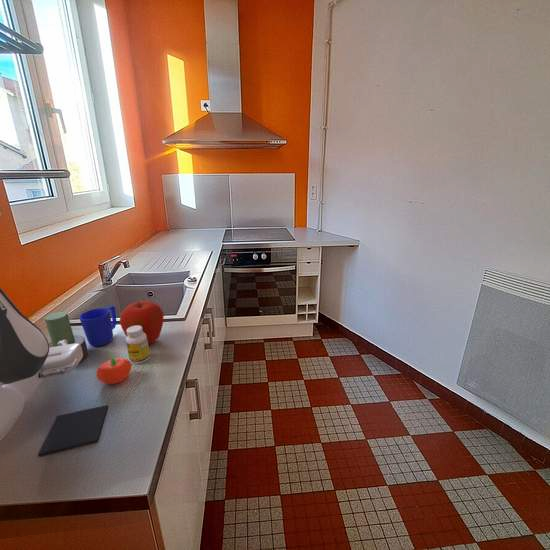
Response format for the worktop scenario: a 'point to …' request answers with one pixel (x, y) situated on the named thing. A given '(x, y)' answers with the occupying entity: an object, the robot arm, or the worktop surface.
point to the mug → (99, 325)
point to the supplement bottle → (137, 345)
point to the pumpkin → (114, 371)
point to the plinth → (82, 343)
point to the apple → (143, 318)
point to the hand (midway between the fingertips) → (41, 346)
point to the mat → (74, 430)
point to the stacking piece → (59, 328)
